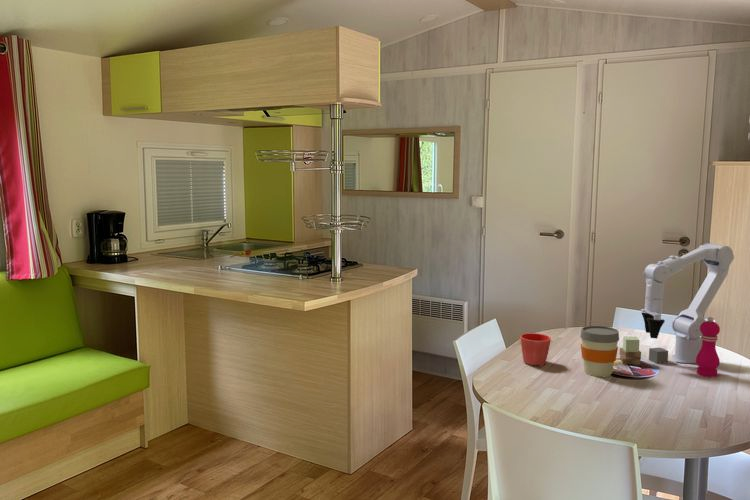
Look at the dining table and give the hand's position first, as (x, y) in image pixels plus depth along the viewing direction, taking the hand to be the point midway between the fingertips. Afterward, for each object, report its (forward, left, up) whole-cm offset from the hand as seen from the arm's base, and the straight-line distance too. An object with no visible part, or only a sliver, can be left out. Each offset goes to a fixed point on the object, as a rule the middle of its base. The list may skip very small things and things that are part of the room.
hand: (651, 335), depth 228 cm
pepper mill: (-16, +9, -11) cm, 21 cm away
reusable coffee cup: (+20, +14, -11) cm, 26 cm away
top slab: (+7, 0, -8) cm, 11 cm away
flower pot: (+41, +7, -11) cm, 43 cm away
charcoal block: (-3, -3, -11) cm, 11 cm away
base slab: (+7, 0, -11) cm, 13 cm away
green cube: (+7, 0, -6) cm, 9 cm away
